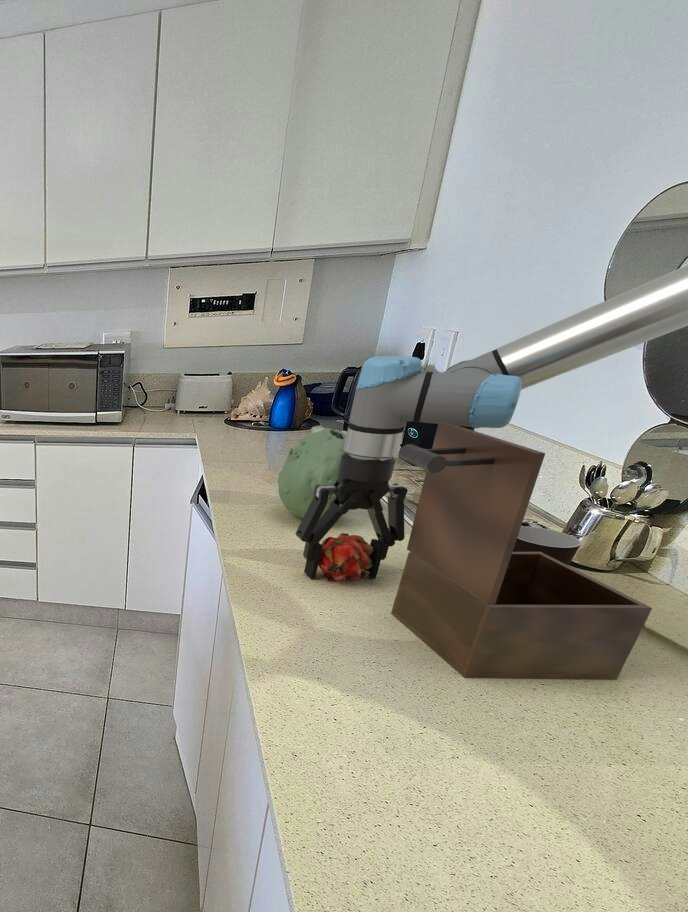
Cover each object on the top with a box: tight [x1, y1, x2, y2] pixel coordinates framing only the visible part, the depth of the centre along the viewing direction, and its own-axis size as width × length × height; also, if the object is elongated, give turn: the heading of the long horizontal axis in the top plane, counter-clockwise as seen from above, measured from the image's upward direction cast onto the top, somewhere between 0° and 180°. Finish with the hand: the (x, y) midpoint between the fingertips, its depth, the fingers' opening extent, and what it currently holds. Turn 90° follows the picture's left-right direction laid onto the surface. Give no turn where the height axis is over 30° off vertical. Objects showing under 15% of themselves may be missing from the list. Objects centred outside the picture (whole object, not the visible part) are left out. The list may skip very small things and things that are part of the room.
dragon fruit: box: [318, 532, 374, 582], centre depth 102 cm, size 8×8×12 cm
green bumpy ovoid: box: [277, 425, 347, 519], centre depth 125 cm, size 16×19×20 cm
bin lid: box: [398, 422, 546, 604], centre depth 76 cm, size 20×17×9 cm
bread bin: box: [390, 551, 653, 680], centre depth 81 cm, size 19×17×11 cm
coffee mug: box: [513, 525, 582, 566], centre depth 96 cm, size 12×9×10 cm
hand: (339, 575), depth 104 cm, fingers closed on dragon fruit, 9 cm apart
